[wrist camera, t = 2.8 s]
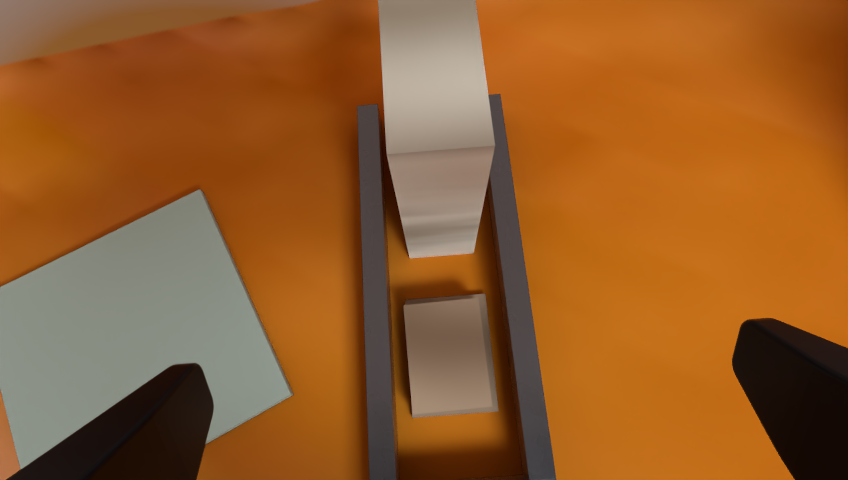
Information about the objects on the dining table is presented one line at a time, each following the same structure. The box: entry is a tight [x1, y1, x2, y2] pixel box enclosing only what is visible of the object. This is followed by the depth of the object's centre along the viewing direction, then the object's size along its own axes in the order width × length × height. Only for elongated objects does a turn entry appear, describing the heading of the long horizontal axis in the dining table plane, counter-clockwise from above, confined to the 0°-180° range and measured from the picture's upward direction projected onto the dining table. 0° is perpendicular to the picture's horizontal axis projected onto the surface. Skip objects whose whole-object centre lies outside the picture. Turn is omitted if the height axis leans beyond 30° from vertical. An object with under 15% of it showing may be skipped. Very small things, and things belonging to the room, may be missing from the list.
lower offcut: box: [405, 294, 499, 418], centre depth 22 cm, size 5×4×1 cm
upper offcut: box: [403, 298, 492, 415], centre depth 21 cm, size 4×3×1 cm
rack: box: [357, 94, 556, 480], centre depth 22 cm, size 18×7×2 cm, turn 4°
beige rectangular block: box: [378, 0, 495, 258], centre depth 19 cm, size 7×3×10 cm, turn 4°
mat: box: [0, 189, 294, 469], centre depth 22 cm, size 11×11×1 cm
